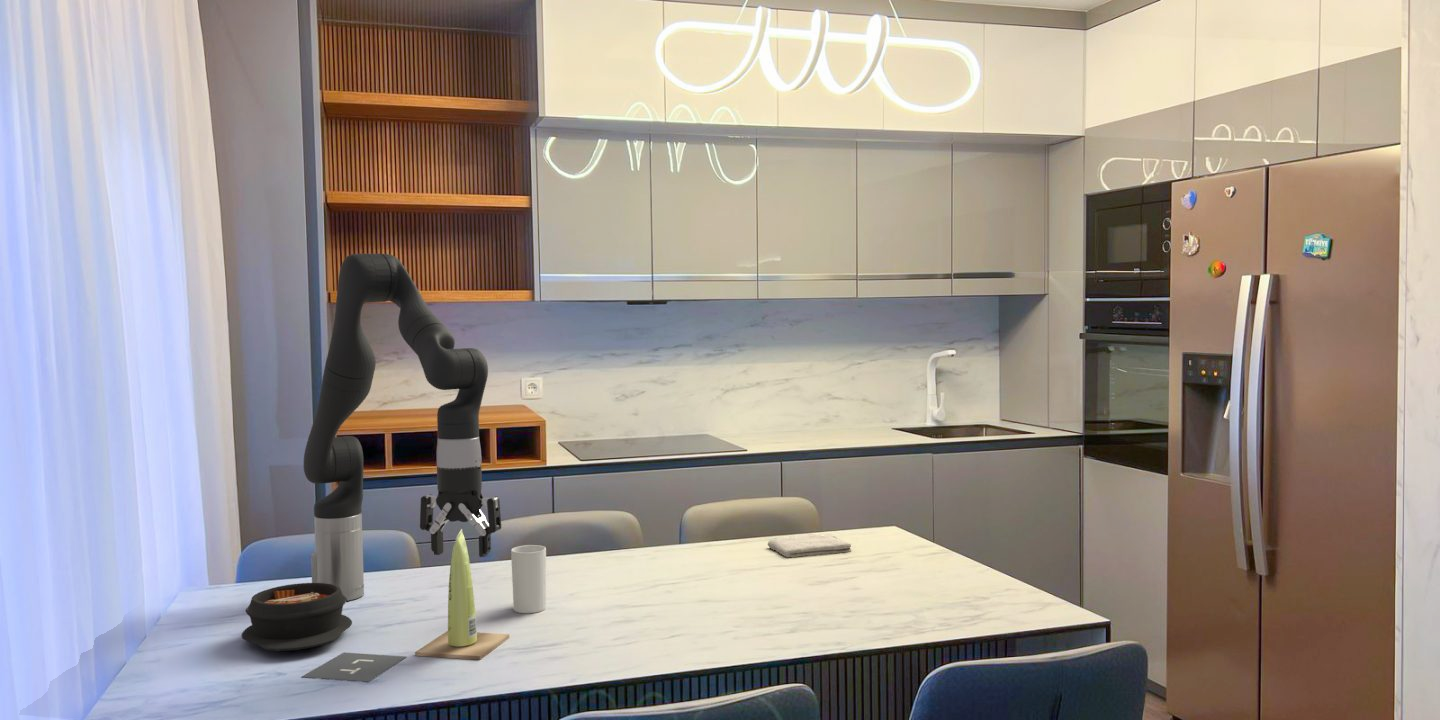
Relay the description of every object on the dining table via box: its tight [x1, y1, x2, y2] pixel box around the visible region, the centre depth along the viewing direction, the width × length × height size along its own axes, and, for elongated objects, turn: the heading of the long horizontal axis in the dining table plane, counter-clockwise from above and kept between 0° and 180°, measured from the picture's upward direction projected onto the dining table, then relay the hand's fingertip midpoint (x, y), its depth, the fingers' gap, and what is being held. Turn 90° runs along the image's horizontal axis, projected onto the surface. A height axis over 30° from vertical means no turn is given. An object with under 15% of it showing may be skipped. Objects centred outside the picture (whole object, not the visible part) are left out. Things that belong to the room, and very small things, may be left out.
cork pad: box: [414, 630, 511, 661], centre depth 181 cm, size 12×12×1 cm
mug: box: [510, 544, 547, 614], centre depth 205 cm, size 10×7×12 cm, turn 9°
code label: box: [300, 652, 408, 683], centre depth 171 cm, size 12×12×1 cm
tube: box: [447, 528, 477, 647], centre depth 181 cm, size 6×5×20 cm
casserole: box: [240, 582, 353, 652], centre depth 187 cm, size 25×19×8 cm
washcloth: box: [767, 533, 852, 558], centre depth 251 cm, size 12×18×3 cm, turn 110°
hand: (461, 555), depth 181 cm, fingers open, 8 cm apart
